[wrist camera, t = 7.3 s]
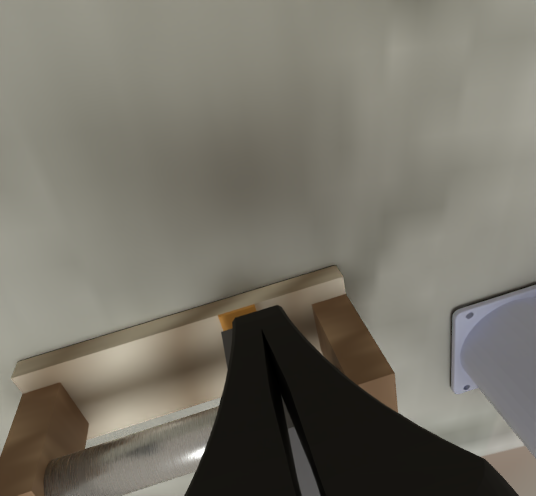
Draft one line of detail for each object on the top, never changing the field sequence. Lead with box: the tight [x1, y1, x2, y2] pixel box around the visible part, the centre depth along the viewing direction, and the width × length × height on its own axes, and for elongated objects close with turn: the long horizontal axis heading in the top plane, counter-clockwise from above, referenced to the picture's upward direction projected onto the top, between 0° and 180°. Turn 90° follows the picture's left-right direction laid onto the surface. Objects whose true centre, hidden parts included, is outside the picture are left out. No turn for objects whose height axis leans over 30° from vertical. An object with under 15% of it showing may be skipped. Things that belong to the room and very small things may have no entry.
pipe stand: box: [0, 265, 398, 496], centre depth 22 cm, size 18×6×7 cm, turn 103°
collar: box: [221, 329, 320, 496], centre depth 21 cm, size 2×6×6 cm, turn 13°
